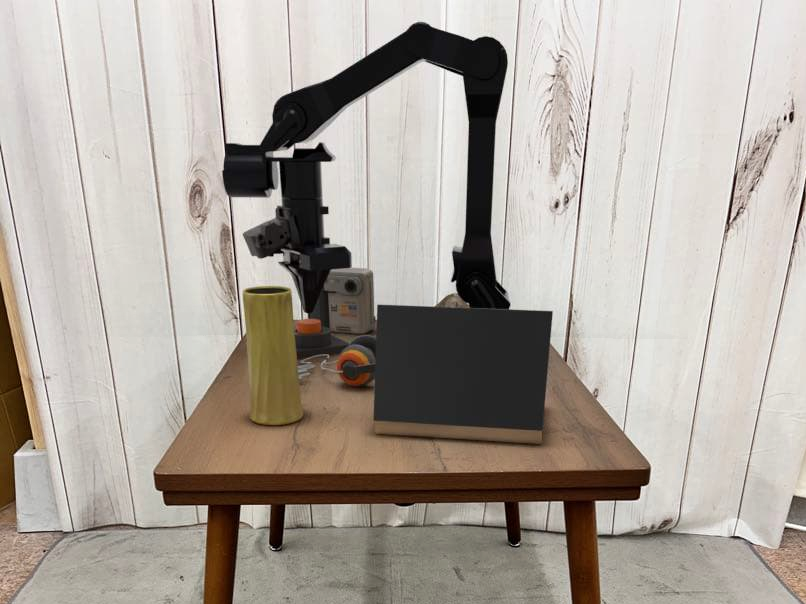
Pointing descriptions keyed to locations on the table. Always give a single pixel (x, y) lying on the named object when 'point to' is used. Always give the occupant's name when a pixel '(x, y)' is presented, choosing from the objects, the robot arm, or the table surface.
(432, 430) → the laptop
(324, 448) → the table surface
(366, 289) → the camera
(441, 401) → the black flat panel
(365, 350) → the headphones
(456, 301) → the fossilized seashell
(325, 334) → the dock
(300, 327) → the power button
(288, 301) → the vase
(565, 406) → the table surface
